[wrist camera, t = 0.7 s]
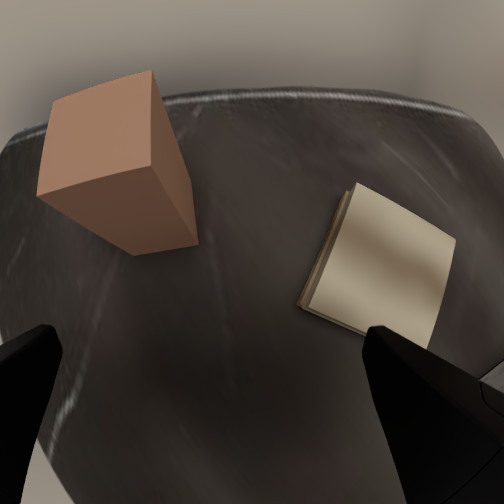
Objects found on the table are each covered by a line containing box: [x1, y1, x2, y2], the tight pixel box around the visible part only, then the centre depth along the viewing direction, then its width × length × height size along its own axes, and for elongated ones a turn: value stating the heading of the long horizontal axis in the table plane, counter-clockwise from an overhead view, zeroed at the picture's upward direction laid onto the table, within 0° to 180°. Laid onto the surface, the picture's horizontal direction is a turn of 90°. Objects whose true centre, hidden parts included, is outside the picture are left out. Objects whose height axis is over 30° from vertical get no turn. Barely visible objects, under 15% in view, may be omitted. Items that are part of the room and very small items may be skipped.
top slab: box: [302, 183, 456, 349], centre depth 19 cm, size 9×9×2 cm
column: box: [37, 70, 199, 256], centre depth 16 cm, size 5×5×12 cm
